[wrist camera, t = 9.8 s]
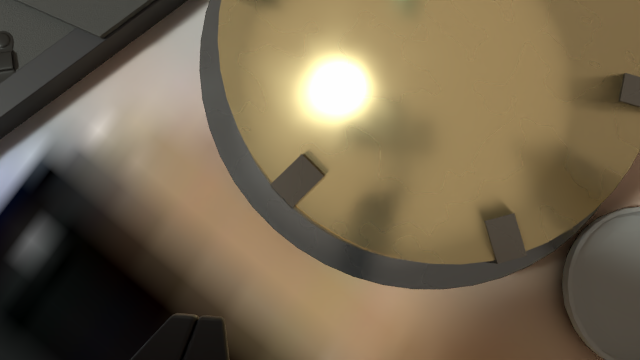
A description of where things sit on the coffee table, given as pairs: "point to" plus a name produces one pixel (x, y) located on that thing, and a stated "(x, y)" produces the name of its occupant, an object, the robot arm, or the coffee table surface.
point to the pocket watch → (606, 285)
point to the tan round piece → (436, 116)
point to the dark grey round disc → (307, 233)
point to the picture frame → (62, 46)
